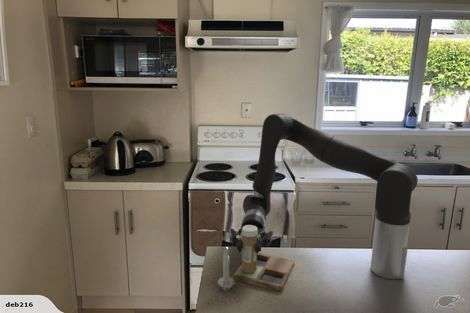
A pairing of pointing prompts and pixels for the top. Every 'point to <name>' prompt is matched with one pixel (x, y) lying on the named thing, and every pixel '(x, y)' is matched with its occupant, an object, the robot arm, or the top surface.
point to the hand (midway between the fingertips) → (248, 249)
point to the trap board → (267, 272)
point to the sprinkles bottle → (249, 248)
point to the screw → (226, 272)
